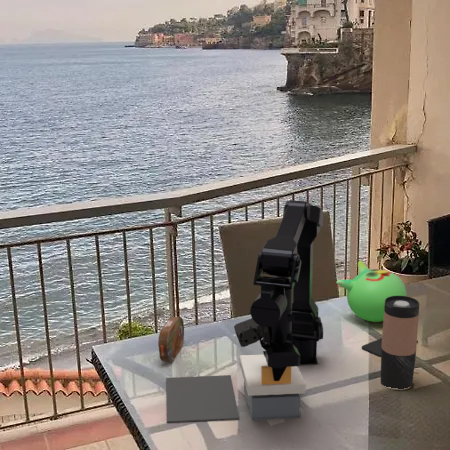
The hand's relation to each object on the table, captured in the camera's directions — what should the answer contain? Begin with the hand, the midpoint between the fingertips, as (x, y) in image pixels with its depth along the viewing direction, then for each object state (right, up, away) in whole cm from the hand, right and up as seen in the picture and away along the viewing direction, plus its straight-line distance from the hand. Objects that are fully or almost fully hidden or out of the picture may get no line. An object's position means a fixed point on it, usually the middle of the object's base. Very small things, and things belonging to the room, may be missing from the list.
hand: (275, 378), depth 143 cm
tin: (-24, -1, +32) cm, 40 cm away
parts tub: (-1, -7, +9) cm, 11 cm away
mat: (-16, -7, +10) cm, 20 cm away
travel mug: (+29, -5, +17) cm, 34 cm away
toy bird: (+31, +5, +54) cm, 63 cm away
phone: (+32, 0, +37) cm, 49 cm away
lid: (-1, -1, +7) cm, 7 cm away
